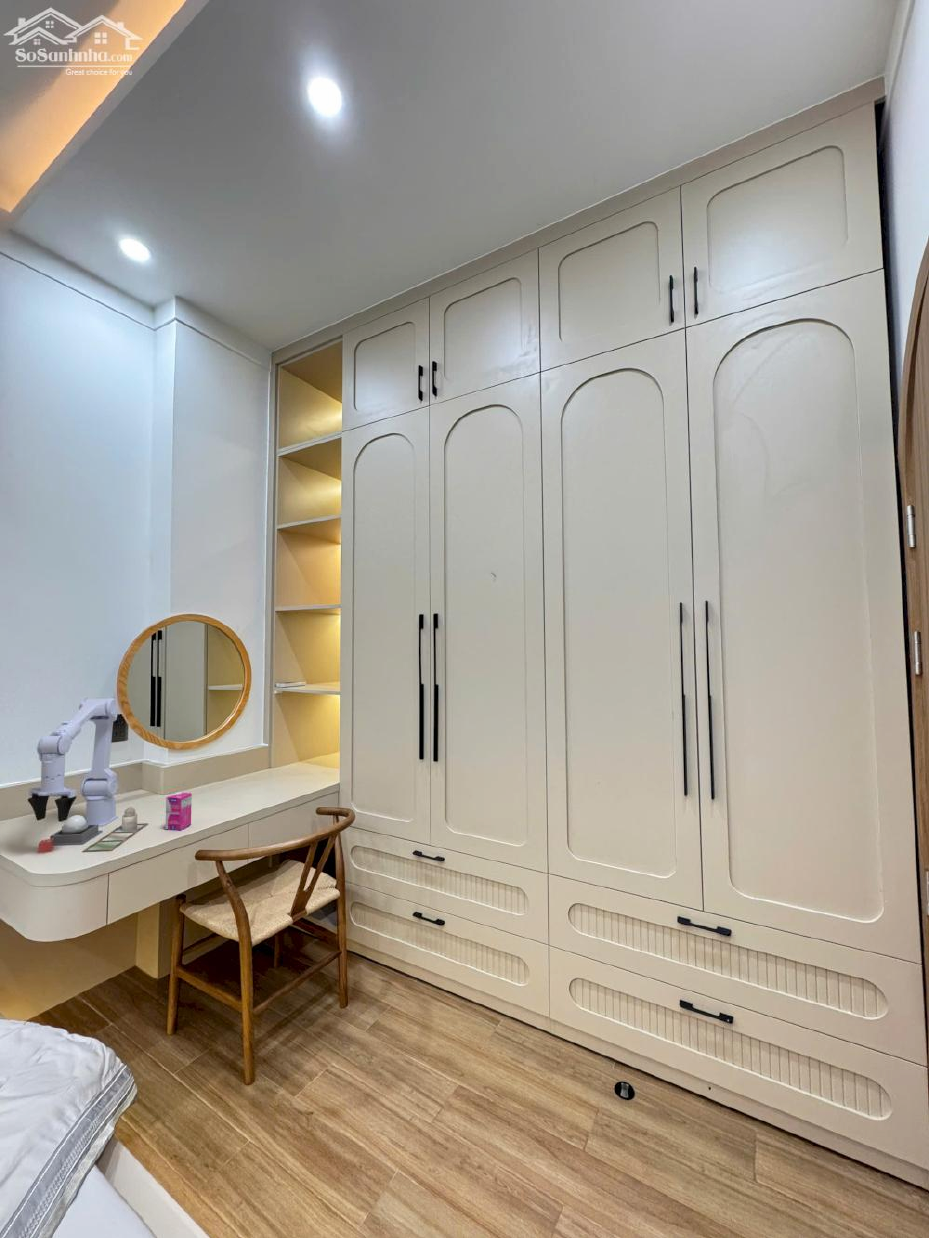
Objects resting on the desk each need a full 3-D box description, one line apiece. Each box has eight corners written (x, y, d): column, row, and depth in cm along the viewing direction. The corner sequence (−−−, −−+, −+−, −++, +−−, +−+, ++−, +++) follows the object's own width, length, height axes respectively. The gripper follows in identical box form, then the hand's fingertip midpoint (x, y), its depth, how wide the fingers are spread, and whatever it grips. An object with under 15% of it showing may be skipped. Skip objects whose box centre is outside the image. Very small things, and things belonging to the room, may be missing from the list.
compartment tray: (122, 825, 183) (122, 824, 183) (148, 824, 184) (148, 823, 184) (82, 852, 160) (82, 851, 160) (111, 851, 161) (111, 849, 161)
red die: (41, 849, 162) (41, 839, 162) (53, 848, 163) (53, 838, 163) (38, 853, 159) (38, 843, 159) (50, 851, 160) (51, 841, 161)
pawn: (126, 826, 181) (126, 805, 181) (139, 826, 182) (140, 805, 182) (119, 831, 177) (119, 809, 177) (133, 830, 177) (133, 809, 178)
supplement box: (164, 830, 178) (165, 796, 179) (176, 824, 184) (177, 791, 184) (180, 831, 177) (180, 797, 178) (191, 825, 183) (192, 792, 184)
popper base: (67, 833, 175) (67, 824, 175) (102, 832, 176) (102, 823, 177) (45, 846, 164) (45, 836, 164) (82, 845, 166) (83, 835, 166)
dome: (70, 829, 174) (70, 812, 174) (93, 828, 174) (93, 811, 174) (56, 837, 167) (56, 819, 167) (80, 836, 167) (80, 818, 168)
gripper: (19, 777, 158) (18, 823, 157) (62, 779, 156) (60, 825, 155) (41, 771, 165) (40, 815, 164) (82, 773, 163) (81, 817, 162)
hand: (51, 819), depth 160 cm, fingers open, 7 cm apart
